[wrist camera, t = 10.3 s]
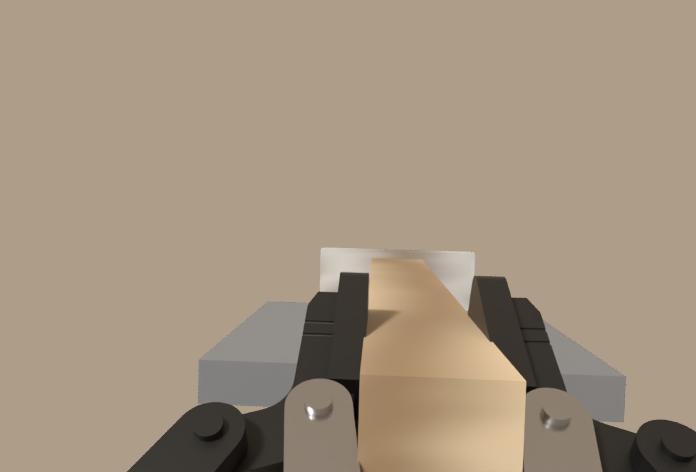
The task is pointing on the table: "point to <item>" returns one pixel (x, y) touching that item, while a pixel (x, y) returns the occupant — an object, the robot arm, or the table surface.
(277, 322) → the stand
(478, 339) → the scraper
